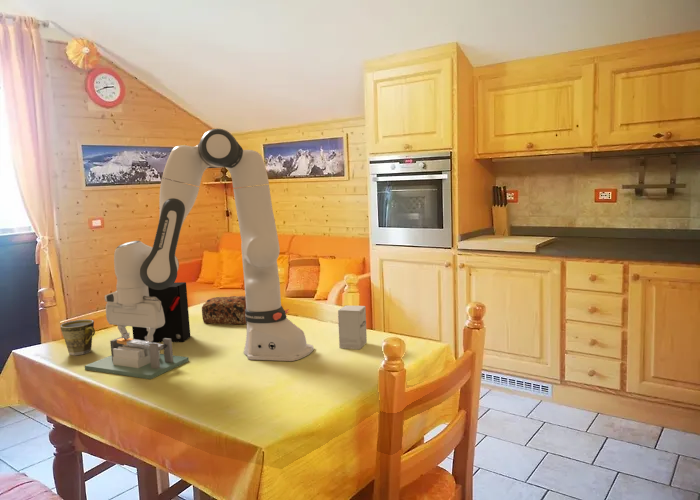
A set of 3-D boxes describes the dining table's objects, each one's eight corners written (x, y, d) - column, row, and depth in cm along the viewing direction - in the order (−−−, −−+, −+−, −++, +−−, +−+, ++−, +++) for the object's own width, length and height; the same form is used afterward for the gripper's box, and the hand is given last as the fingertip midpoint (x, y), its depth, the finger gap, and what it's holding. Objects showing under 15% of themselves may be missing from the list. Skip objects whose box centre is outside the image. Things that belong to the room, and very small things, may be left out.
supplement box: (360, 349, 170) (359, 311, 169) (338, 348, 173) (337, 310, 171) (367, 342, 177) (366, 305, 176) (346, 341, 180) (344, 304, 178)
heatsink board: (188, 361, 166) (186, 334, 165) (150, 379, 152) (147, 350, 151) (126, 353, 177) (123, 328, 176) (84, 369, 162) (82, 342, 161)
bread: (256, 319, 215) (255, 294, 214) (243, 326, 205) (241, 300, 204) (216, 317, 221) (214, 293, 220) (201, 324, 211) (199, 299, 210)
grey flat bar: (166, 348, 161) (166, 344, 161) (158, 351, 158) (157, 347, 157) (125, 340, 167) (125, 336, 167) (116, 343, 164) (115, 339, 164)
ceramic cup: (56, 355, 178) (53, 325, 176) (83, 346, 186) (80, 318, 185) (83, 359, 172) (80, 329, 171) (109, 350, 181) (106, 321, 179)
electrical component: (192, 335, 195) (188, 281, 192) (181, 343, 185) (176, 286, 182) (146, 335, 197) (141, 282, 194) (132, 344, 187) (127, 287, 184)
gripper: (167, 294, 160) (171, 339, 161) (116, 291, 168) (121, 334, 170) (152, 299, 154) (156, 346, 156) (100, 296, 162) (104, 340, 164)
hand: (137, 340), depth 163 cm, fingers open, 8 cm apart
